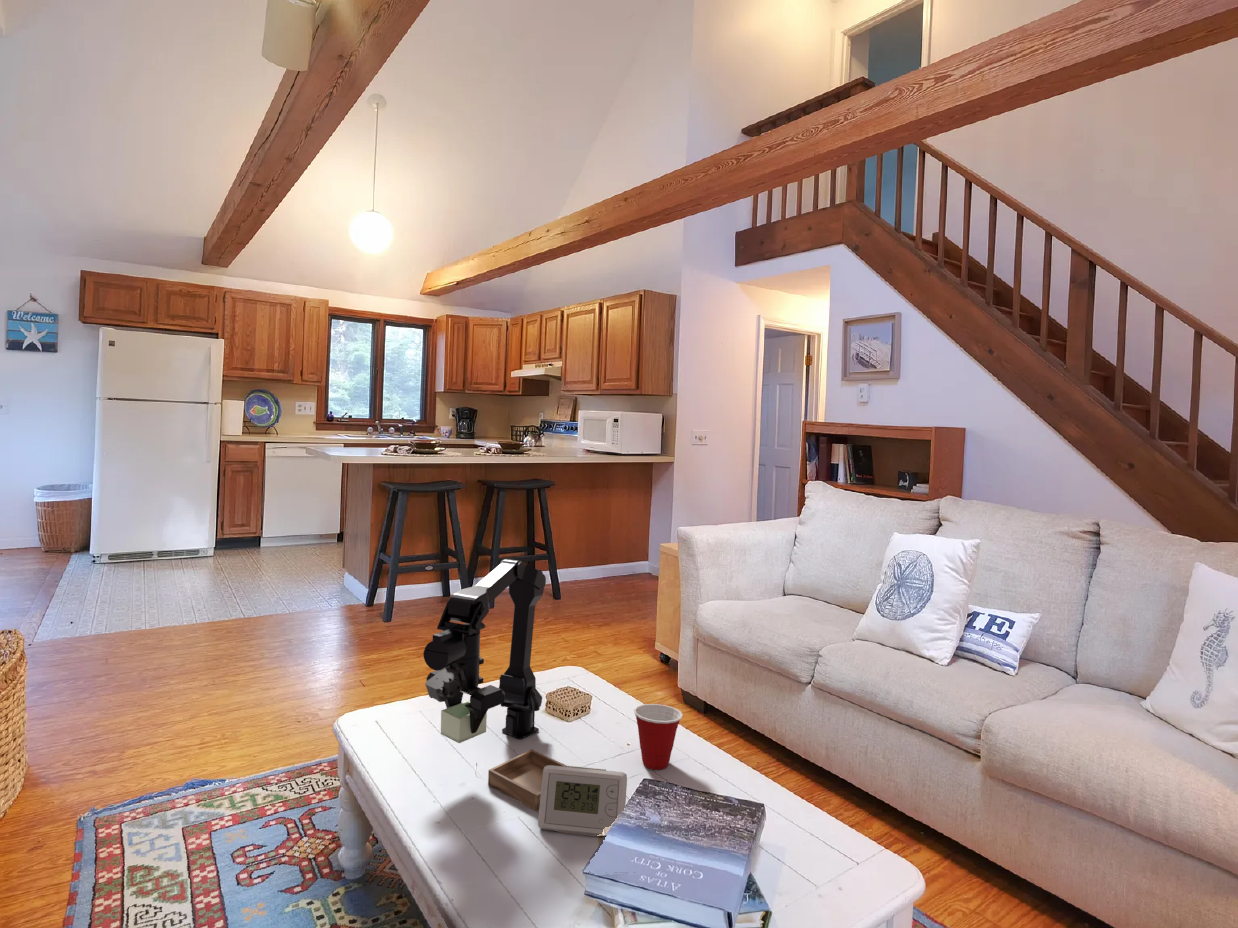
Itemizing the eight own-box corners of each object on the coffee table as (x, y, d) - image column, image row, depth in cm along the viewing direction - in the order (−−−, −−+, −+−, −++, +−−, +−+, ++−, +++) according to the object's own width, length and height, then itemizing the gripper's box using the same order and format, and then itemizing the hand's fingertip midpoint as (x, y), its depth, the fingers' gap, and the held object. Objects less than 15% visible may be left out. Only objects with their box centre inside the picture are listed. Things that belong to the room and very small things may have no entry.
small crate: (467, 723, 149) (468, 700, 149) (486, 731, 146) (486, 708, 145) (440, 733, 144) (441, 710, 143) (459, 743, 140) (459, 719, 140)
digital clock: (533, 830, 128) (534, 774, 128) (552, 805, 137) (554, 752, 136) (616, 850, 123) (618, 792, 123) (631, 822, 132) (633, 768, 131)
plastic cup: (687, 759, 157) (690, 707, 156) (668, 780, 148) (671, 725, 147) (644, 746, 162) (646, 696, 161) (623, 766, 153) (625, 713, 152)
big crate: (531, 763, 153) (531, 749, 153) (579, 786, 144) (579, 771, 144) (488, 784, 143) (488, 769, 143) (536, 811, 134) (537, 795, 134)
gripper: (405, 652, 143) (403, 726, 144) (463, 676, 131) (461, 756, 133) (449, 640, 152) (447, 710, 153) (507, 661, 140) (505, 737, 141)
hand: (463, 727), depth 145 cm, fingers closed on small crate, 6 cm apart
